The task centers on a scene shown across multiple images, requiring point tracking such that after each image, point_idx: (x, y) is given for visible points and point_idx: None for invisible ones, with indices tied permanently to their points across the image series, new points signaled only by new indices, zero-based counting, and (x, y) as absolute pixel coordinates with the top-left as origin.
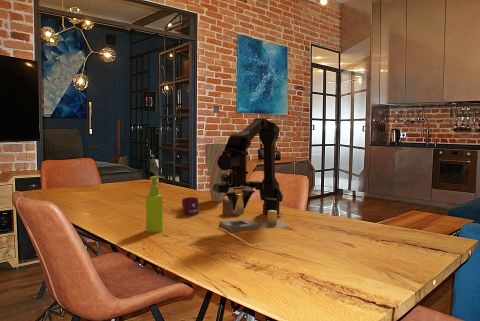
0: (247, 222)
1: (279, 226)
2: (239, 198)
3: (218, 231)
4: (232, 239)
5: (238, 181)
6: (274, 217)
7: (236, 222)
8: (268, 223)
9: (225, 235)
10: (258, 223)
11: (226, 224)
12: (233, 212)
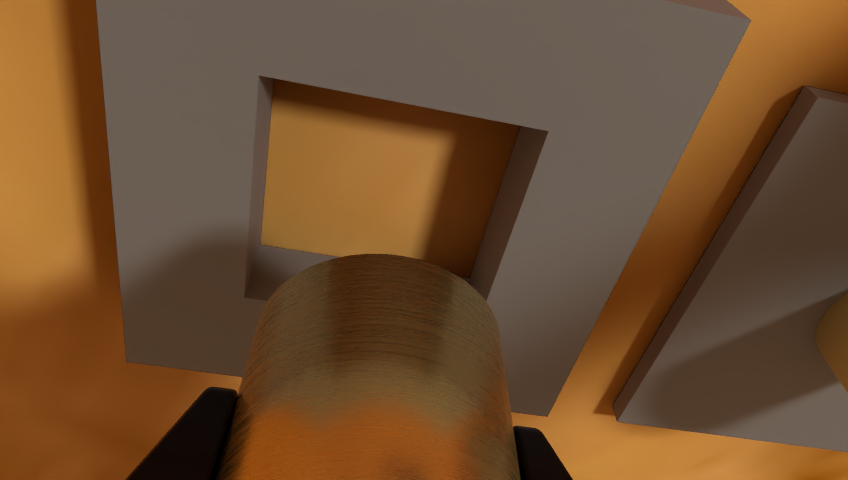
0: (527, 275)
1: (793, 433)
2: None
3: (2, 144)
4: (65, 448)
5: None
6: None
7: (435, 99)
8: (827, 325)
9: (41, 330)
10: (778, 216)
11: (133, 190)
12: (255, 335)
